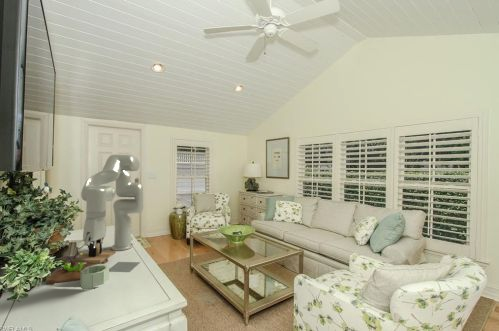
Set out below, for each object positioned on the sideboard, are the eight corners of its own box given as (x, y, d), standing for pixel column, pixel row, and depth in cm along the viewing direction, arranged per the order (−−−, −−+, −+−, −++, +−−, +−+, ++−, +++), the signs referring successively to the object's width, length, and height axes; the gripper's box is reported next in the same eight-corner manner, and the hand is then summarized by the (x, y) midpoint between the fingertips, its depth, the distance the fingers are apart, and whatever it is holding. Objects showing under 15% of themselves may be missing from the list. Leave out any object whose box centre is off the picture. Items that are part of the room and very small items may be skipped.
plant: (85, 284, 110) (85, 260, 110) (37, 286, 107) (37, 261, 107) (105, 266, 130) (105, 245, 130) (65, 267, 127) (65, 246, 127)
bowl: (90, 277, 116) (91, 264, 116) (112, 278, 116) (112, 264, 116) (75, 289, 105) (75, 274, 105) (99, 289, 105) (99, 274, 105)
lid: (90, 252, 116) (91, 239, 116) (115, 253, 116) (115, 240, 116) (72, 262, 104) (72, 248, 104) (100, 263, 104) (100, 248, 104)
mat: (118, 263, 133) (118, 261, 133) (140, 264, 133) (140, 262, 133) (105, 273, 121) (105, 271, 121) (129, 274, 121) (129, 272, 121)
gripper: (99, 211, 119) (98, 248, 119) (74, 218, 102) (73, 261, 102) (114, 211, 119) (113, 248, 119) (92, 218, 102) (91, 262, 102)
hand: (95, 254), depth 110 cm, fingers closed on lid, 3 cm apart
